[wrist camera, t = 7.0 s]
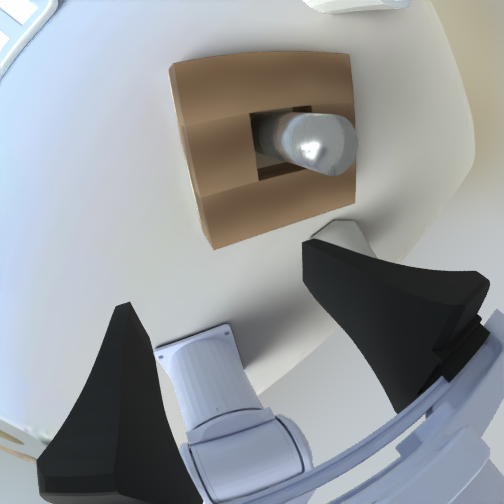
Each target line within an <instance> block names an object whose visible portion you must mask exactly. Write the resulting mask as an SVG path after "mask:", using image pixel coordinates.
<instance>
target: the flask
mask: <svg viewBox="0 0 504 504" xmlns="http://www.w3.org/2000/svg"><path fill="white" fill-rule="evenodd" d="M313 238H316V239H320V240H323V241H326V242H329V243H332V244H335V245H338V246H341V247H344V248H346V249H349V250H352V251H355V252H358V253H361V254H364V255H367V256H370V257H373V258H377V257H376V255H375V254H374V252H373V250H372V249H371V247H370V246H369V244H368V242H367V240H366V239H365V237H364V235H363V233H362V232H361V230H360V228H359V227H358V225H357V224H356V222H355V221H333V222H331V223H330V224H329V225H327V226H326V227H325V228H323V229H322V230H321V231H319V232H318V233H317V234H315V235H314V236H313V237H311V238H310V239H313ZM377 259H378V258H377Z"/></svg>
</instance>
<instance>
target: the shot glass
mask: <svg viewBox="0 0 504 504" xmlns="http://www.w3.org/2000/svg"><path fill="white" fill-rule="evenodd" d="M303 1H304V2H305V3H306V4H307V5H308V6H309V7H311V8H313V9H315V10H317V11H319V12H321V13H326V14H338V13H346V12H354V11H365V10H380V9H401V8H406V7H408V6H409V4H410V3H411V2H412V0H303Z"/></svg>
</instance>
